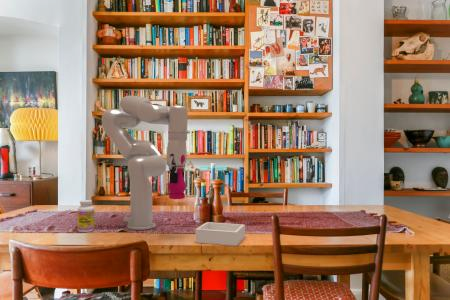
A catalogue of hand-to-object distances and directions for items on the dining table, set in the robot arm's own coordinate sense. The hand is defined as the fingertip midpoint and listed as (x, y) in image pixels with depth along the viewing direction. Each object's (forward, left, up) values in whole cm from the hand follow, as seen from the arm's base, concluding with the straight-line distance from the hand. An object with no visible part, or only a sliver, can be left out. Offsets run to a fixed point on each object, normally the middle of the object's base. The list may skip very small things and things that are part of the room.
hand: (177, 181), depth 145 cm
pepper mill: (0, 0, -7) cm, 7 cm away
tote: (+18, 0, -22) cm, 29 cm away
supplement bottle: (-41, -3, -22) cm, 46 cm away
